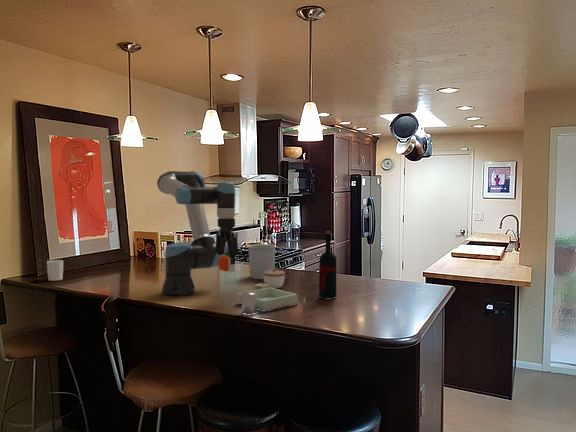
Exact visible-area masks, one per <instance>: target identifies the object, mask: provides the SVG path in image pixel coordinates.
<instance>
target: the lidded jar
mask: <svg viewBox="0 0 576 432" xmlns="http://www.w3.org/2000/svg"><path fill="white" fill-rule="evenodd" d="M263 275H264V279H263V282H264V284H268V285H269V287H271V288H279V287H280V288H281V287H282V286H283V285H284V282H285V279H286V277H285V276H286V272H285V271H283V270H277V269H276V268H275V269H273V270H270V271H265V272H263ZM280 288H279V289H280Z"/></svg>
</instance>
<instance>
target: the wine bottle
mask: <svg viewBox="0 0 576 432" xmlns="http://www.w3.org/2000/svg"><path fill="white" fill-rule="evenodd" d="M331 235H332V234H331V230H325V252H323V253H322V254H321V255H320V257H319V265H318V266H319V269H318V270H319V272H318V273H319V276H318V277H319V278H318V297H319V296H320V297H322V298H334V297H336V298H337V257H336V255H335V253H333V252H331V250H332V249H331V248H332V247H331V245H332V244H331V241H332V240H331Z"/></svg>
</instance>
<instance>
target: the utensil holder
mask: <svg viewBox="0 0 576 432" xmlns="http://www.w3.org/2000/svg"><path fill="white" fill-rule="evenodd" d="M247 248H248V261H249V262H248V263H249V264H248V265H249V266H248V267H249V277H251V278H250V279H252V278H254V279H253V280H264V275H263V272H265V271H270V270H273V269H275V270H276V268H275V267H276V263H275V262H276V258H275V257H276V256H275V254H276V253H275V252H276V251H275V250H276V245H275V244H271V243H270V244H269V243H265V244H262V243H261V244H250V245H248V246H247Z"/></svg>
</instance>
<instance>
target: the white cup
mask: <svg viewBox="0 0 576 432" xmlns="http://www.w3.org/2000/svg"><path fill="white" fill-rule="evenodd" d="M46 271H47V277H48V278H47V279H48V281H51V282H52V281H62V280H63V278H64V277H63V276H64V260H63V259H54V260H53V259H52V260H47V261H46Z"/></svg>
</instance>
